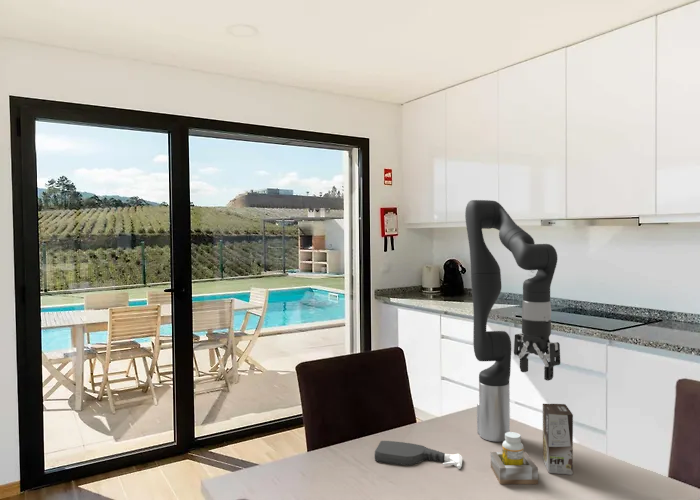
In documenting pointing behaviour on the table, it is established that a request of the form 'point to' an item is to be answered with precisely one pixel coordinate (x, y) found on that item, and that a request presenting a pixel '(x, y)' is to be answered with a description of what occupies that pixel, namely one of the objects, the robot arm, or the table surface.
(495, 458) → the post socket
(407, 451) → the spray bottle
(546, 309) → the robot arm
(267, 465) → the table surface
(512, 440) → the supplement bottle
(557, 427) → the coffee box
